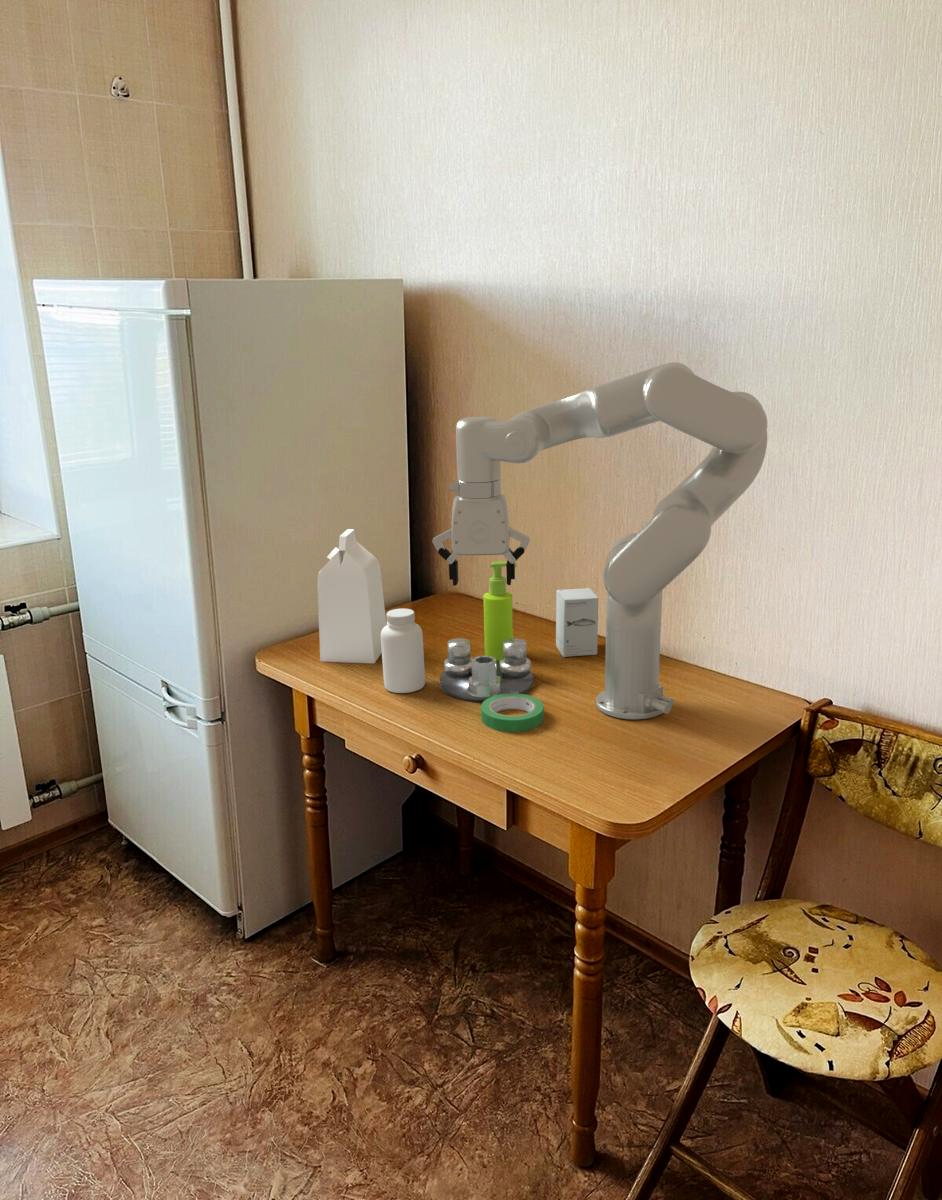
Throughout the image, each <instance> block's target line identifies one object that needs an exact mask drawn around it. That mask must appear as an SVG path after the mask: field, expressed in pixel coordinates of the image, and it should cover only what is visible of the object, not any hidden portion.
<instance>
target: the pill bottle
mask: <svg viewBox="0 0 942 1200" xmlns="http://www.w3.org/2000/svg"><path fill="white" fill-rule="evenodd" d="M415 615H416V614H415V611H414V610H413V609H410V608H394V609H391V610H389V611H387V612H386V613H385V616H386V626H385V627H384V628H383V629H382V631H381V648H382V653H381V660H382V672H383V673H382V674H383V675H382V676H383V686H384V688H385V689H386V690H387V691H388V692H391V693H396V694H409V693H413V692H417V691H420V690H421V689H422V688H424V687H425V683H426V671H425V670H426V669H425V654H424V638H423V637H424V636H423V630H422V627H421V626H420V625H419V624H417V623H415V621H416V620H415V619H416V616H415Z"/></svg>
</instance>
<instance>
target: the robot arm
mask: <svg viewBox="0 0 942 1200" xmlns="http://www.w3.org/2000/svg"><path fill="white" fill-rule="evenodd" d="M657 422H662V423H664V424H666V425H667V426H669V427H672V428H673V429H676V430H678V431H679V432H682V433H684V434H686V435H688V436H690V437H693V438H695V439H697V440H700V441H701V442H704V443H705V444H708V445H709V446H712V448H711V449H710V450H709V453H708V454H707V455H706V457H705V458H704V459H703V460H702V461H701V462H700V463H699V464H698V465H697V466H696V468H694V470H693V471H691V473H690V474H689V475H687V477H685V478H684V480H682V481H681V482H680V483H679V484H678V485H677V486H676V487H675V488H674V489H673V490H672V491H671V492H669V493H668V494H667V495H666V496H665V497H664V498H663V499H661V500H660V501H659V502H658V503H657V505H656V507H655V508H654V511H653V514H652V518H651V519H650V520H649V521H648V522H647V523H646V524H645V525H644V526H643V527H642V528H641V529H640V530H639V531H638V532H632V533H629V534H625V535H623V536H621V537H620V538H618V539H617V540H616V541H615V542H614V543H613V544H612V546H611V547H610V550H609V551H608V554H607V558H606V561H605V565H604V568H603V575H602V576H603V584H604V588H605V590H606V617H605V619H606V621H605V622H606V623H605V658H604V659H605V664H604V668H605V669H604V690H602V691H601V692H599V693H598V694H597V695H596V698H595V705H596V707H597V708H598V710H599V711H600V712H601V713H603V714H606V715H607V716H611V717H613V718H618V719H624V720H645V719H652V718H655V717H657V716H660V715H661V714H667V715H668V714H669V713H670V712H671V710H672V706H674V703H675V700H674V698H672V697H669V696H665V695H664V685H661V684H660V683H659V682H660V661H661V660H660V658H661V657H660V654H661V633H662V631H661V630H662V629H661V628H662V607H663V590H664V589H665V588H666V587H667V586H669V585H670V584H671V583H672V582H673V581H674V580H676V578H677V577H678V576H679V575H680V574H682V573H683V572H684V571H685V570H686V569H687V568H688V567H689V566H690V565H691V564H692V563H693V562H694V561H696V559H697V558H698V557H699V556H700V555H701V554H702V552H703V551H704V550H705V548H706V547H707V545H708V543H709V541H710V538H711V535H712V526H713V525H714V523H716V521H718V520H719V518H720V517H722V516H723V514H724V513H726V512H727V511H728V510H729V508H731V507H732V505H733V504H735V503H736V501H737V500H739V498H740V497H741V496H743V494H744V493H745V492H746V491H747V490H748V488H749V487H750V486H751V485H752V484H753V482H754V481H755V479H756V478H757V476H758V474H759V473H760V471H761V469H762V466H763V464H764V461H765V457H766V454H767V453H766V452H767V446H768V418H767V414H766V412H765V409H764V408H763V405H762V403H761V402H760V401H759V400H758V399H757V398H756V397H755V396H754V395H752V394H750V393H749V392H744V391H730V390H727V389H725V388H723V387H721V386H718V385H717V384H714V383H712V382H710V381H708V380H706V379H704V378H702V377H699V376H698V375H697V374H695V373H694V371H693V370H692V369H691V368H690V367H689V366H687V365H686V364H683V363H680V362H668V363H663V364H660V365H657V366H654V367H651V368H648V369H645V370H642V371H639V372H635V373H633V374H630V375H628V376H624V377H621V378H619V379H616V380H613V381H610V382H606V383H603V384H601V385H600V384H599V385H597V386H593V387H591V388H588V389H585V390H583V391H581V392H579V393H576V394H573V395H571V396H568V397H564V398H561V399H558V400H555V401H552V402H549V403H546V404H543V405H540V406H536V407H535V408H534V407H533V408H530V409H528V410H525V411H522V412H520V413H517V414H516V415H514V416H513V417H511V418H509V419H507V420H497V419H496V418H495V417H490V416H480V415H479V416H469V417H464V418H461V419H459V420H458V421H457V423H456V426H455V440H456V441H455V443H456V445H455V446H456V469H457V472H456V473H457V480H456V481H455V482H450V483H449V491H451V492H453V491H454V492H456V494H457V496H455V497H453V501H452V502H453V503H452V510H451V528H449V529H447V530H446V531H444V532H442V533H440V534H438V535H436V536H435V537H433V538H432V540H431V542H432V544H433V546H434V548H435V549H436V551H437V553H438V555H439V556H440V557H442V559H444V561H446V563H447V564H448V575H449V577H448V578H449V581H450V580H451V581H452V586H455V587H456V586H457V585H458V583H459V561H458V560H457V558H458V557H459V556H500V555H502V556H503V557H504V559H506V561H507V563H506V566H505V569H506V585H507V586H511V585H512V580H516V567H515V563H517V562H516V561H518V560H519V558H521V557H522V555H524V554H525V552H526V549H527V547H528V546H529V544H530V542H531V537H530V536H529V535H526V534H524V533H523V532H521V531H518V530H516V529H515V528H512V527H510V520H509V519H510V517H509V511H508V505H507V504H508V503H507V500H506V496H505V495H504V494H502V475H501V474H502V471H501V469H502V468H501V465H502V464H501V462H504V463H508V464H509V463H512V464H526V463H528V462H530V461H532V460H534V459H535V458H536V457H537V456H538V455H539V453H540V452H542V451H544V450H548V449H549V448H553V447H556V446H560V445H563V444H565V443H569V442H573V441H577V440H581V439H586V438H595V439H604V438H610V437H614V436H616V435H617V436H618V435H620V434H622V433H626V432H629V431H632V430H635V429H639V428H641V427H644V426H647V425H651V424H654V423H657ZM511 538H513V539H514V540H517V541H518V542H520V544H519V546H518V547H517V548H516V549H515V550H514V551H513V549H512V548H510V545H511V544H510V542H511ZM448 539H451V549H452V550H451V551H449V550H448V549H447V548H446V547H445V546H444V544H443V542H445V541H446V540H448Z"/></svg>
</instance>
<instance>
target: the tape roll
mask: <svg viewBox="0 0 942 1200" xmlns="http://www.w3.org/2000/svg"><path fill="white" fill-rule="evenodd" d="M505 710H520V711H525V712H527V713H524V714H519V715H506V714H501V713H498V712H501V711H505ZM544 710H545V707H544V703H543V702H542V701H541V700H540V699H538V698H537V697H534V696H532V695H529V694H526V693H525V694H516V693H509V694H500V695H495V696H492V697H490V698H488V699H486V700H485V701H484V702H481V705H480V712H481V713H480V714H481V716H480V717H481V718H480V719H481V722H482V723H483V725H484V726H486V727H487V728H490V729H492V730H495V731H497V732H498V731H500V732H504V733H505V732H507V733H515V732H516V733H519V732H524V731H529V730H533V729H535V728H537V727H539V726H540V725H541V724H542V723H543V722H544V720H545V719H544V718H545V717H544V715H545V712H544Z"/></svg>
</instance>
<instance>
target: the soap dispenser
mask: <svg viewBox="0 0 942 1200" xmlns="http://www.w3.org/2000/svg"><path fill="white" fill-rule="evenodd" d="M506 563H507V560H500V561H498V560H497V561H490V565H489V566H490V568H492V576H491V577H489V579H488V580H489V581H488V583H489V584H488V585H489V587H488V589H489V591H488V592H487V591H486V593H484V594H483V631H484V632H483V634H484V637H483V638H484V639H483V640H484V656H492V657H494V658H496V660H501V659H503V658H504V641H505V640H508V639H514V631H513V630H514V629H513V627H514V626H513V624H514V622H513V621H514V619H513V615H514V614H513V594H512V593H511V592H509V591H507V577H504V576H503V575H502V574H503V573H502V567H506ZM516 567H518V563H517V562H515V568H516Z"/></svg>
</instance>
